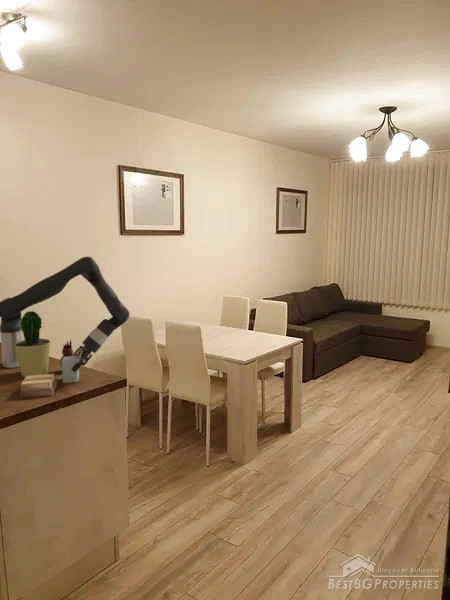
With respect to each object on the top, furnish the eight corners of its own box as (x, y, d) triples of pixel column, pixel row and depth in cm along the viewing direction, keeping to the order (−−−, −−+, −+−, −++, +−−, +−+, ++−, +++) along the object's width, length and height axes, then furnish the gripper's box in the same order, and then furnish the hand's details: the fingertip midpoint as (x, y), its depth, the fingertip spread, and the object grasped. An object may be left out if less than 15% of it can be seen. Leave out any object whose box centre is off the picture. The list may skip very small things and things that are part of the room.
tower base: (27, 388, 193) (27, 381, 193) (57, 386, 195) (56, 380, 195) (20, 398, 181) (20, 391, 181) (52, 396, 184) (51, 389, 183)
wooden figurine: (78, 369, 216) (76, 339, 214) (70, 373, 211) (68, 342, 209) (66, 368, 219) (64, 338, 216) (58, 371, 213) (56, 340, 211)
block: (65, 378, 204) (63, 356, 203) (78, 377, 205) (77, 356, 204) (62, 382, 198) (61, 360, 197) (77, 382, 199) (75, 360, 198)
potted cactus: (22, 381, 200) (17, 314, 195) (12, 372, 212) (7, 309, 207) (57, 374, 210) (53, 310, 205) (46, 366, 222) (42, 305, 217)
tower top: (27, 382, 192) (26, 375, 191) (54, 380, 194) (54, 373, 194) (21, 391, 181) (21, 384, 181) (50, 389, 184) (50, 382, 183)
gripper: (106, 348, 200) (81, 377, 197) (97, 341, 212) (73, 368, 209) (93, 338, 197) (67, 368, 193) (85, 331, 209) (60, 359, 205)
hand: (70, 368), depth 201 cm, fingers open, 8 cm apart
